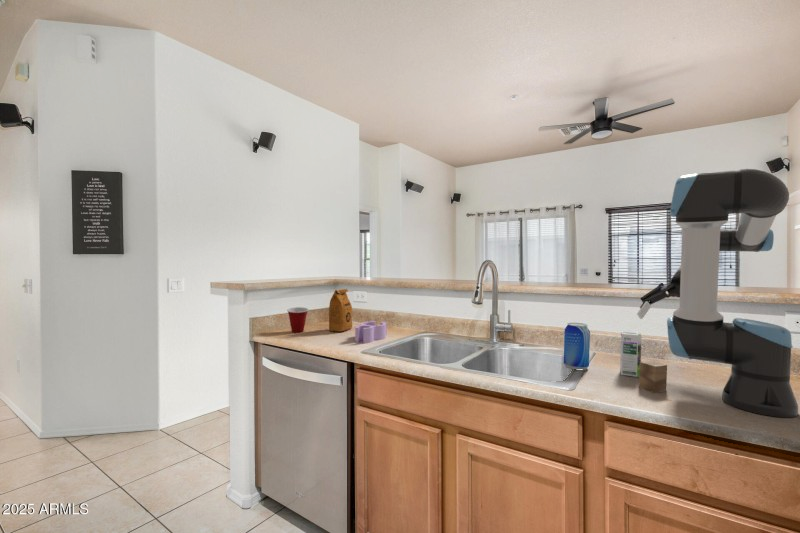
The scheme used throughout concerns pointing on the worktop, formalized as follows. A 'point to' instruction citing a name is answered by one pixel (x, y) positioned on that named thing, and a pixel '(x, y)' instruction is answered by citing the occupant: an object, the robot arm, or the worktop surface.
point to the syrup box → (630, 354)
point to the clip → (370, 332)
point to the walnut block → (653, 376)
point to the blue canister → (576, 346)
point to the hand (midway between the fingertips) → (657, 319)
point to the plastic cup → (297, 318)
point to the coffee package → (340, 312)
